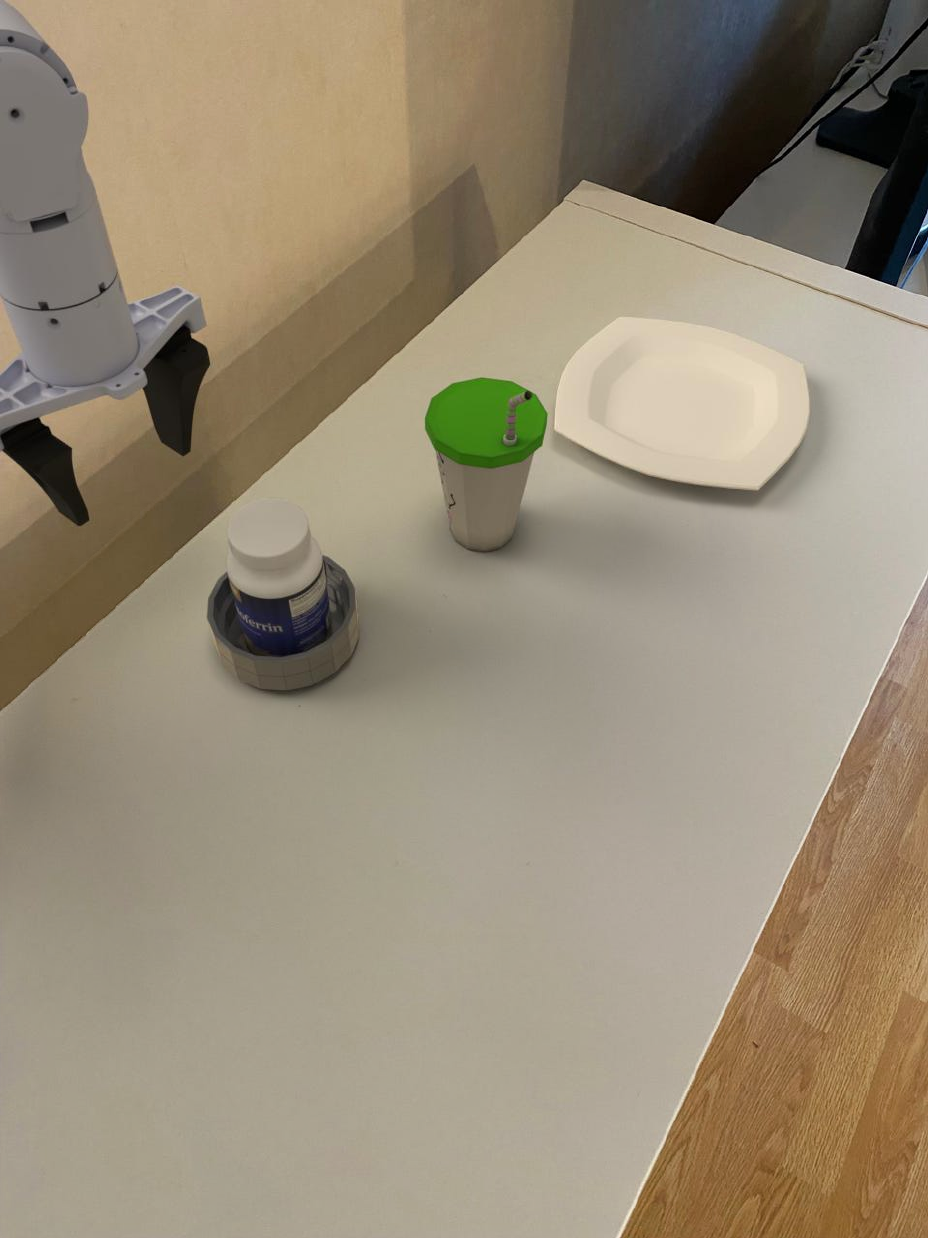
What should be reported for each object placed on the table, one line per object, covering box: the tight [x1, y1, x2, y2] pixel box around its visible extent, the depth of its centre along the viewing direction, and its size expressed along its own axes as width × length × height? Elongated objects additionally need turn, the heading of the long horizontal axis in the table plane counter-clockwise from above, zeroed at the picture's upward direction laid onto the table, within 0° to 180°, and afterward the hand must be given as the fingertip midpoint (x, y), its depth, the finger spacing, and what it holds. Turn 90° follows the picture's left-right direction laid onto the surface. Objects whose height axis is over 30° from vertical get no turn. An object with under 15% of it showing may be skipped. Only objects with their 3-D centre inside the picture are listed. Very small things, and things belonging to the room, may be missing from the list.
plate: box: [553, 316, 811, 491], centre depth 80 cm, size 19×19×2 cm
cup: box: [424, 376, 549, 553], centre depth 67 cm, size 8×8×15 cm
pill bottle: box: [225, 497, 332, 657], centre depth 62 cm, size 6×6×10 cm
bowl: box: [206, 554, 360, 691], centre depth 65 cm, size 9×9×4 cm
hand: (126, 480), depth 60 cm, fingers open, 7 cm apart
